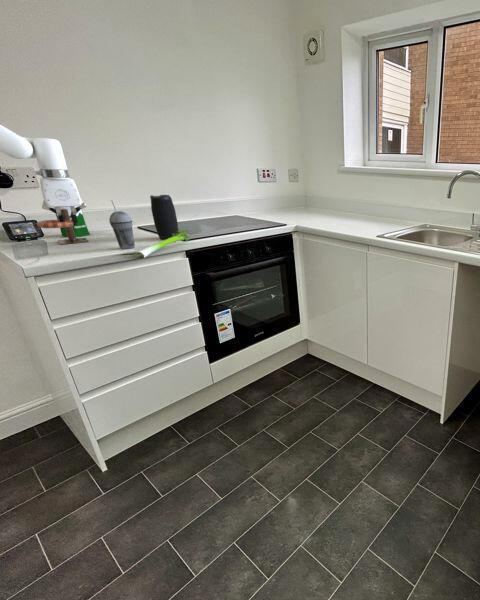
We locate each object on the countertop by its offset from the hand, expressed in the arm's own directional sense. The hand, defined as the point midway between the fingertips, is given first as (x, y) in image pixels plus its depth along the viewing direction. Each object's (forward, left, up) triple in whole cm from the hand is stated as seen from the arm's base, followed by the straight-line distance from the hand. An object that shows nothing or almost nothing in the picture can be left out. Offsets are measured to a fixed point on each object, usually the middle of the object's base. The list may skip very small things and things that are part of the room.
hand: (69, 224), depth 135 cm
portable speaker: (+33, +5, -10) cm, 35 cm away
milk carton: (+3, +36, -10) cm, 38 cm away
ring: (-4, 0, +1) cm, 4 cm away
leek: (+26, -17, -10) cm, 33 cm away
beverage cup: (+14, -11, -10) cm, 21 cm away
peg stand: (0, +15, -10) cm, 18 cm away
